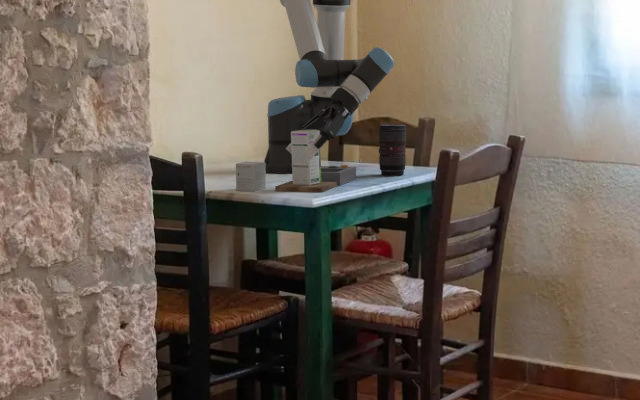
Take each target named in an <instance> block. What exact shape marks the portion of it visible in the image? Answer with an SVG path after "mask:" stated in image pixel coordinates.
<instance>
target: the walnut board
mask: <svg viewBox="0 0 640 400" xmlns="http://www.w3.org/2000/svg"><path fill="white" fill-rule="evenodd" d="M336 187H338V185H337V182H324V181H321V183H318V184H313V185H310V186H309V185H295V184H293V180H291V181H287V182H284V183H282V184H278V185H276V186H274V188H275V189H274V190H275V192H294V193H295V192H298V193H299V192H300V193H301V192H302V193H304V192H305V193H324V192H326V191H329V190H331V189H333V188H336Z"/></svg>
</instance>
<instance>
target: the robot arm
mask: <svg viewBox="0 0 640 400" xmlns="http://www.w3.org/2000/svg"><path fill="white" fill-rule="evenodd" d="M351 1H352V0H312V4H311V0H279V2H280V5H282V6H283V7H284V8H285V10H286V15H287V18H288V23H289V25H290V29H291V32H292V36H293V40H294V45H295V48H296V51H297V53H298V54H297V55H298V59H299V60H298V61H297V62H296V64H295V69H294V74H295V82H296V84H297V85H298V86H299V87H302V88H311V89H314V88H315V89H314V90H312V92H311V93H310V99H306V97H305V95H302V94H301V95H291V96H284V97H279V98H273V99H271V100H270V101H269V102H268V105H267V115H266V116H267V130H268V131H267V135H268V136H267V139H268V145H267V146H268V148H267V150H266V155H265V158H264V161H263V162H265V163H266V173H273V174H292V148H291V132H292V131H299V130H309V129H313V130H319V131H320V132H319V133H320V134H319V135H318V136H317V137H316V138H315V139H314V140H313V142H312V143H311V144H310V145H309V146H308V147H307V148H306V149H305V151H304V152H303V153H304V154H305V155H306V156H307V157H308V158H309V159H310V160H311V159H312V158H313V157H314V156H315V154H316V153H317V152H318V151H319V150H320V151H321V149H322V148H323V147H324V146H325V144H326V143H327V142H329V141H330V140H334V139H335V138H336V137H338V136H345V135H346V134H347V133H348V132H349V131H350V129H351V128H352V125H353V124H352V123H353V120H354V113H355V111H356V110H357V109H358V108H359V106H360V105H361V104H363V102H364V101H367V100H368V98H369V97H368V96H369V95H370V94H371V93H372V92H373V91H374V90H375V88H376V87H377V86H378V85H379V84H380V83H381V82H382V81H383V80H384V79H385V77H386V76H387V75H389V73H390V71H391V70H392V69H393V68H394V67H395V60H394V59H393V57H392V55H390V53H388V51H386V50H385V49H383V48H381V47H379V46H376V47H374V48H372V49H371V50H370V51H369V52H368V53H367V54H366V56H365V57H362V58H360V59H345V33H346V31H345V30H346V28H345V27H346V26H345V25H346V11H347V10H348V9H349V8H350V7H351ZM313 7H314V8H315V9H316V11H317V20H316V17H315V13H314V10H313Z"/></svg>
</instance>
